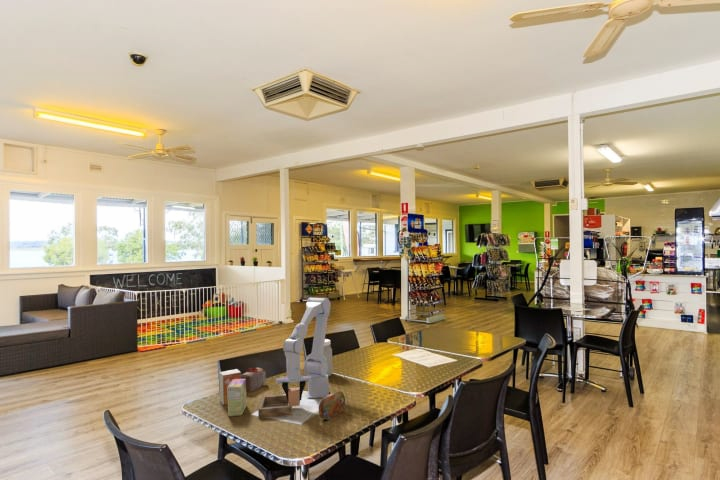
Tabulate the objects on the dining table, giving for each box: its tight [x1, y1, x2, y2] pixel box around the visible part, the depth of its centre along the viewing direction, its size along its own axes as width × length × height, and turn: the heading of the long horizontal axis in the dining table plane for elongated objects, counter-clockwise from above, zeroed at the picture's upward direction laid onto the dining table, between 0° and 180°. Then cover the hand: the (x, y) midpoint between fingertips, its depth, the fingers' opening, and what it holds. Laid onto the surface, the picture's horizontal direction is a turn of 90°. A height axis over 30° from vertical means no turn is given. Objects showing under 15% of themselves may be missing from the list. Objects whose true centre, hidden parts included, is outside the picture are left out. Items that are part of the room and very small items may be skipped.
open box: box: [257, 394, 293, 419], centre depth 172 cm, size 13×14×4 cm
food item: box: [241, 367, 267, 394], centre depth 200 cm, size 14×8×10 cm, turn 163°
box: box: [227, 379, 247, 417], centre depth 172 cm, size 10×6×12 cm, turn 5°
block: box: [288, 386, 301, 407], centre depth 173 cm, size 4×4×6 cm
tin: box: [318, 390, 346, 421], centre depth 165 cm, size 15×3×8 cm, turn 148°
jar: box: [314, 338, 334, 377], centre depth 217 cm, size 10×10×18 cm
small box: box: [218, 368, 242, 406], centre depth 184 cm, size 8×6×13 cm
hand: (294, 399), depth 173 cm, fingers closed on block, 4 cm apart
